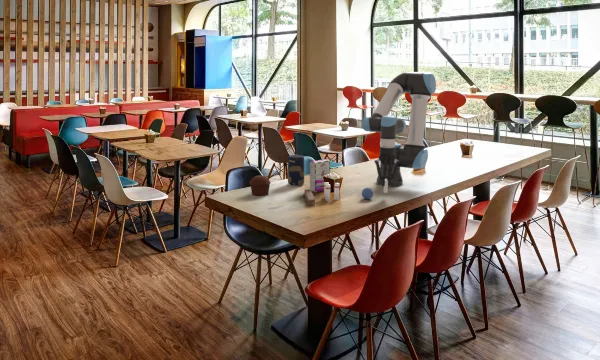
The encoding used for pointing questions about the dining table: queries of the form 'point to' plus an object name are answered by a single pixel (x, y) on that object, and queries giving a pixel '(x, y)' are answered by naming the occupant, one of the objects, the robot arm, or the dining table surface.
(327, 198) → the pin
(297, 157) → the canister
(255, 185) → the muffin
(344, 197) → the dining table surface
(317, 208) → the dining table surface
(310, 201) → the back wall
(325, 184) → the pin
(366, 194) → the ball
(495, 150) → the dining table surface
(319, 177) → the candy bar box
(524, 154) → the dining table surface
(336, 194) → the front pin
